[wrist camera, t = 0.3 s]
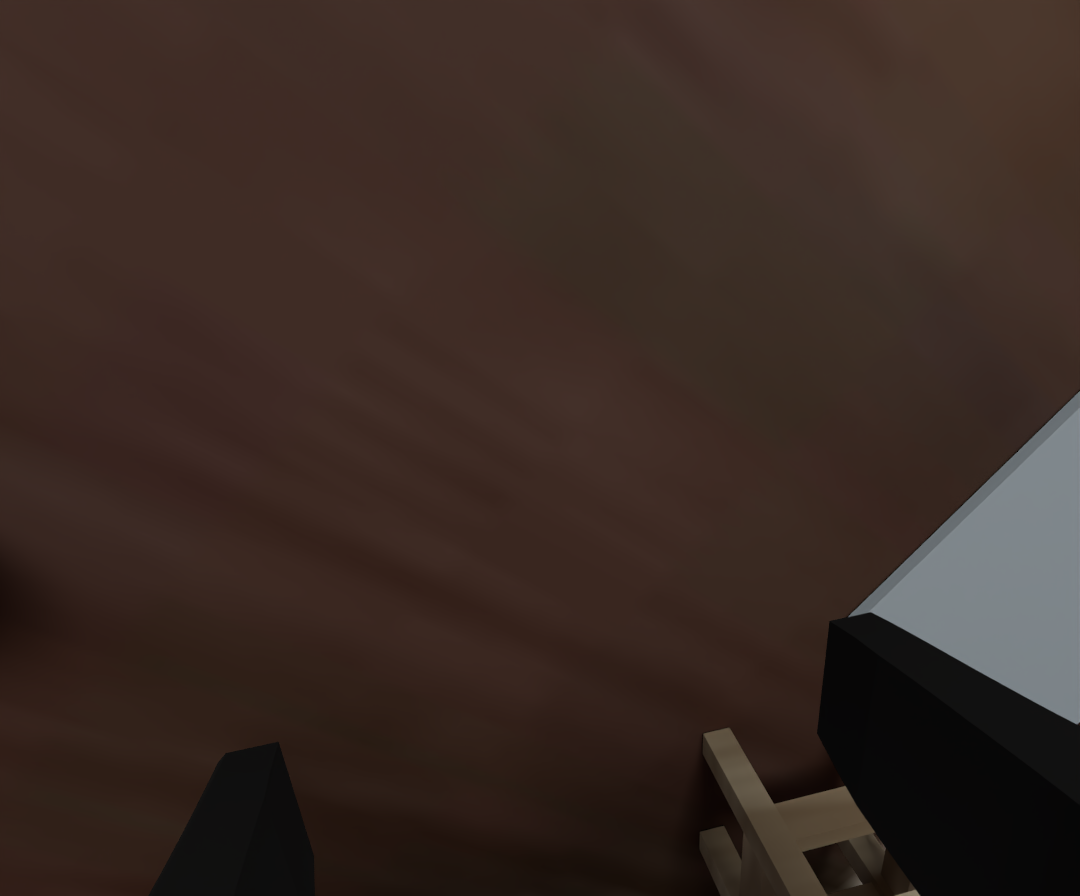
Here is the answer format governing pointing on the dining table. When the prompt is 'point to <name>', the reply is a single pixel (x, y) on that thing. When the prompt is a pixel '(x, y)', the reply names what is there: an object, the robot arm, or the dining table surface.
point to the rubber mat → (1006, 574)
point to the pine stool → (788, 835)
